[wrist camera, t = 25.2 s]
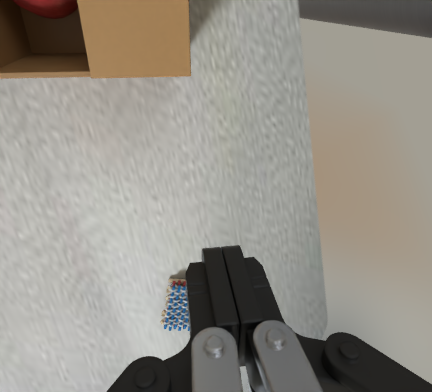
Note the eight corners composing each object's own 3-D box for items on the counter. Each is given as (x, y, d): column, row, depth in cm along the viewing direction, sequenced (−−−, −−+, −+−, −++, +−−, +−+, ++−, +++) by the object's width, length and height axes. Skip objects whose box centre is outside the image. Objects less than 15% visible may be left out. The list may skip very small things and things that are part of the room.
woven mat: (234, 278, 52) (236, 287, 50) (219, 321, 57) (221, 332, 55) (168, 274, 49) (169, 284, 48) (159, 321, 54) (159, 331, 53)
